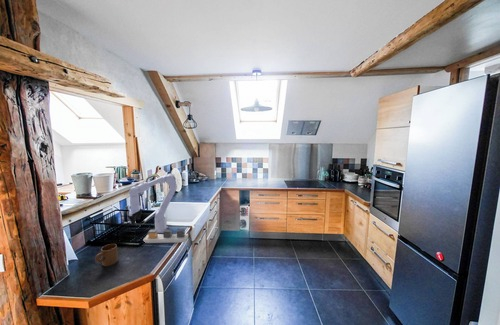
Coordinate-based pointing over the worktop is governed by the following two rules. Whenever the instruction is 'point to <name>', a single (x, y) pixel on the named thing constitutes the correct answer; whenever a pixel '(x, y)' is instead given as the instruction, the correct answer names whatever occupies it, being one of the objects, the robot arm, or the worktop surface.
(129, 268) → the worktop surface
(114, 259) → the mug
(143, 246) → the worktop surface
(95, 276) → the worktop surface
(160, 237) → the pdu strip
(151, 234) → the plug
